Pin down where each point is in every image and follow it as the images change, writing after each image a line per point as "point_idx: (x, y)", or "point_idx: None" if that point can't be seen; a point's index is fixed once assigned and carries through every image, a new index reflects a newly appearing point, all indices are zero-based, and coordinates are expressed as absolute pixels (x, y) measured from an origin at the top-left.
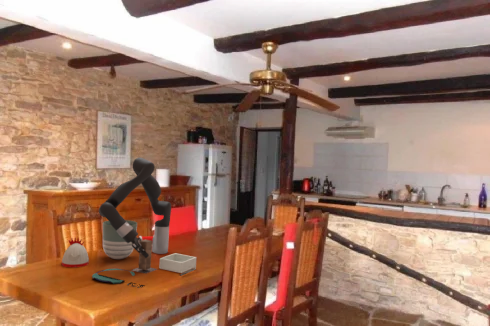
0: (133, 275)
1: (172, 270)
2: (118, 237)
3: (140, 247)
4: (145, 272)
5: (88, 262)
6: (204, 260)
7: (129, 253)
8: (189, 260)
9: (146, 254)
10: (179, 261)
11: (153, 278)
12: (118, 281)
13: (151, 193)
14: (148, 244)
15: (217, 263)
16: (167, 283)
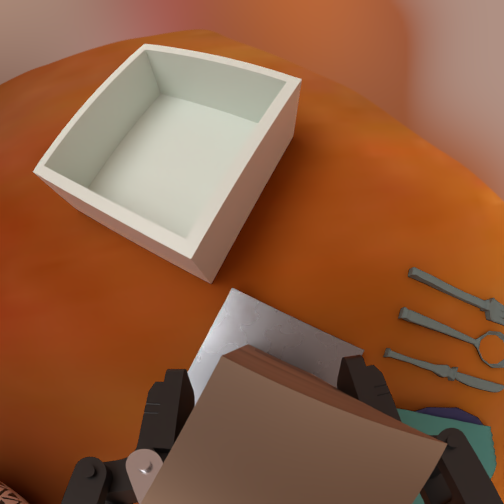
0: (418, 414)
1: (265, 174)
2: None
3: (466, 475)
4: (339, 361)
5: None
6: (32, 104)
7: (10, 493)
8: (212, 57)
9: (383, 381)
10: (90, 159)
11: (386, 288)
12: (492, 440)
13: None
14: (358, 408)
15: (81, 57)
16: (437, 195)
